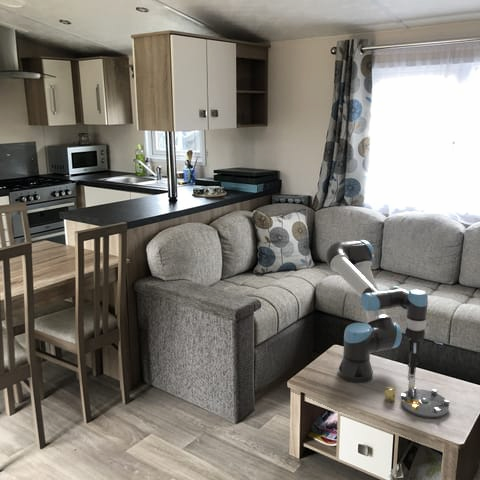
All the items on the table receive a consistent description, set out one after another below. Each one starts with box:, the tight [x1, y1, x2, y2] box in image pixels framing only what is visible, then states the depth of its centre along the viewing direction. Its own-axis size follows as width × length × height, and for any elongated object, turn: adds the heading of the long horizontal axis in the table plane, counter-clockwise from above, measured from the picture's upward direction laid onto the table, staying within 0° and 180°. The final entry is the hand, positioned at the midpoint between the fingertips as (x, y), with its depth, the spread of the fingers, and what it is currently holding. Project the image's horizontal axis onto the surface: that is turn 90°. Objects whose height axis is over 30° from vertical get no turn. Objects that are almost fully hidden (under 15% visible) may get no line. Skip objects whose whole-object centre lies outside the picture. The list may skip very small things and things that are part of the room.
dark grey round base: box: [400, 376, 450, 419], centre depth 201 cm, size 18×18×10 cm
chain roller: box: [384, 386, 396, 404], centre depth 207 cm, size 4×4×5 cm
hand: (411, 379), depth 211 cm, fingers closed
